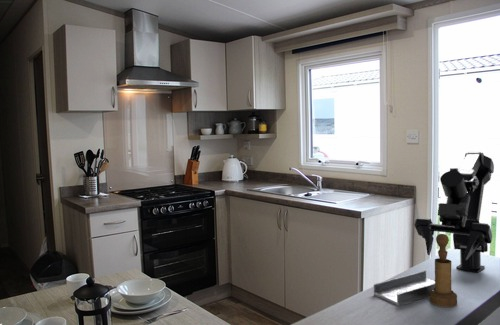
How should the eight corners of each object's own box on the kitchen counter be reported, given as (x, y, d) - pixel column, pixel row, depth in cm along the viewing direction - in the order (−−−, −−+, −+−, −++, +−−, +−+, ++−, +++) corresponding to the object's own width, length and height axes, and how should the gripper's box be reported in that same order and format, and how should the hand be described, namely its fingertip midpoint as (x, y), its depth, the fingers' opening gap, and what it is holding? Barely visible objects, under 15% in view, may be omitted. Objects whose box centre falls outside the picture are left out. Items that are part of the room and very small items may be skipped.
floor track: (424, 280, 127) (424, 270, 127) (451, 289, 119) (451, 279, 119) (373, 294, 118) (373, 284, 118) (398, 305, 110) (398, 294, 110)
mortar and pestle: (460, 308, 107) (459, 237, 106) (432, 307, 109) (431, 237, 107) (453, 297, 114) (452, 231, 112) (427, 296, 115) (426, 231, 114)
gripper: (415, 189, 122) (402, 236, 114) (489, 193, 110) (481, 245, 102) (424, 212, 128) (413, 257, 121) (495, 217, 117) (487, 268, 109)
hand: (446, 256), depth 113 cm, fingers open, 9 cm apart
